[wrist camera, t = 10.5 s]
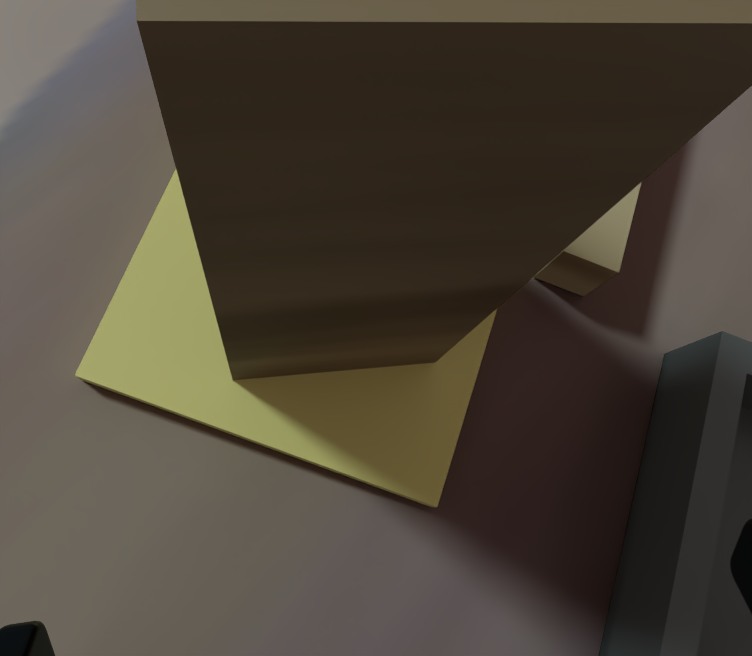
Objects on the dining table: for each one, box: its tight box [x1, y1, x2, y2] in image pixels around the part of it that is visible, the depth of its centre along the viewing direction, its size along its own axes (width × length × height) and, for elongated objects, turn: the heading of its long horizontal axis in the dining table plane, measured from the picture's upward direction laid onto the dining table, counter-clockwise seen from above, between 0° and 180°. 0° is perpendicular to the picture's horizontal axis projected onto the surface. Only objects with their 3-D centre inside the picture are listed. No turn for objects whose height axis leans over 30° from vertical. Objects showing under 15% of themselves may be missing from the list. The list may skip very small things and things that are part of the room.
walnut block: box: [136, 0, 752, 380], centre depth 11 cm, size 5×5×12 cm
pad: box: [75, 170, 497, 507], centre depth 18 cm, size 9×9×1 cm
